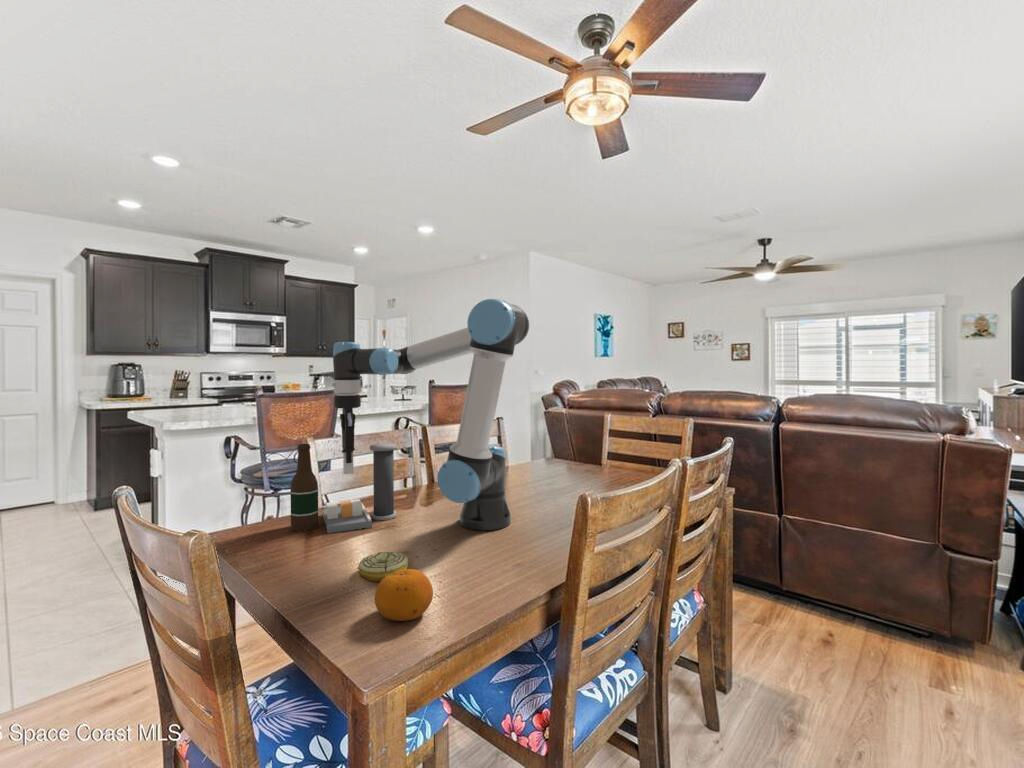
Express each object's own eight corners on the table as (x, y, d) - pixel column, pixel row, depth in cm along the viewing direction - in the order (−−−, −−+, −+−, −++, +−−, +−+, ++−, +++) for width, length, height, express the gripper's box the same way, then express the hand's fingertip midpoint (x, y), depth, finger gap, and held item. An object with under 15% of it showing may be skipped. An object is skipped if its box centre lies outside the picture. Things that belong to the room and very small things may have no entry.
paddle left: (337, 518, 141) (337, 506, 141) (327, 519, 140) (327, 507, 140) (336, 513, 145) (336, 501, 145) (326, 514, 144) (326, 502, 144)
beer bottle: (285, 527, 138) (284, 444, 137) (311, 521, 144) (311, 441, 143) (296, 534, 133) (295, 447, 132) (324, 527, 139) (323, 444, 138)
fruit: (393, 597, 97) (393, 558, 97) (441, 605, 94) (441, 565, 94) (363, 624, 87) (362, 580, 87) (415, 634, 84) (415, 589, 84)
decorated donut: (380, 561, 116) (380, 545, 116) (417, 569, 111) (417, 553, 111) (348, 578, 106) (348, 561, 106) (387, 588, 102) (387, 570, 102)
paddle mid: (352, 516, 143) (352, 504, 142) (342, 517, 141) (342, 505, 141) (350, 511, 147) (350, 500, 147) (340, 512, 146) (340, 501, 146)
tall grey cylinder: (399, 518, 147) (399, 446, 146) (372, 522, 144) (372, 448, 143) (394, 511, 154) (393, 442, 153) (368, 514, 151) (368, 444, 150)
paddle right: (362, 515, 144) (362, 503, 144) (352, 516, 143) (352, 504, 142) (359, 510, 148) (359, 499, 148) (350, 511, 147) (350, 500, 147)
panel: (371, 527, 139) (371, 518, 139) (327, 533, 134) (327, 524, 133) (362, 510, 155) (362, 502, 155) (322, 515, 150) (322, 506, 150)
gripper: (331, 393, 147) (333, 470, 148) (335, 395, 136) (337, 479, 136) (357, 393, 151) (358, 468, 151) (363, 395, 139) (364, 476, 140)
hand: (348, 473), depth 144 cm, fingers closed
